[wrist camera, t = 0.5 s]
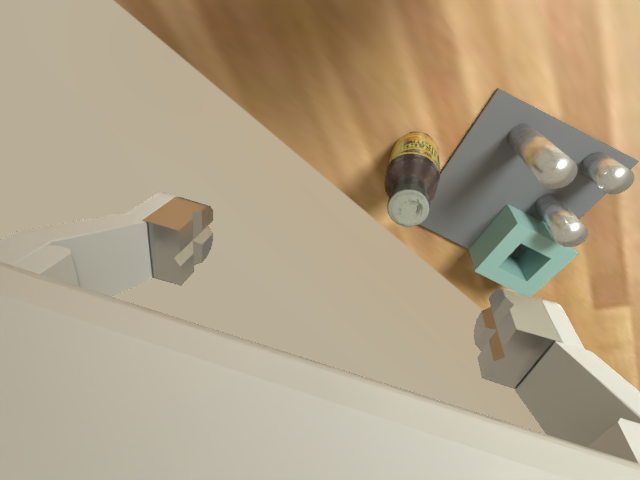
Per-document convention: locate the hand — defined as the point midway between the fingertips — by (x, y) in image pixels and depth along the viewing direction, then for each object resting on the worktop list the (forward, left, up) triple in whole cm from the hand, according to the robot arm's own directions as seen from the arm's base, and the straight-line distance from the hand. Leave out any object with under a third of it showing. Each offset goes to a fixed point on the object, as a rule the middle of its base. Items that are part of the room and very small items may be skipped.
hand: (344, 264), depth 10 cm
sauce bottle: (+7, +7, -44) cm, 45 cm away
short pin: (-2, +28, -43) cm, 51 cm away
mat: (+6, +22, -43) cm, 49 cm away
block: (+12, +27, -43) cm, 52 cm away
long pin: (-1, +18, -43) cm, 46 cm away
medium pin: (+5, +27, -43) cm, 51 cm away
